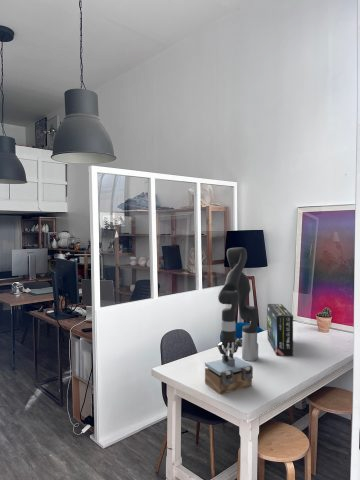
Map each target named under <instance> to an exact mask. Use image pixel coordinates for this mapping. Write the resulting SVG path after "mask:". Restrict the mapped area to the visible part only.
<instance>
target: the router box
mask: <svg viewBox="0 0 360 480" xmlns="http://www.w3.org/2000/svg"><path fill="white" fill-rule="evenodd" d="M266 313H267V340H268V343H269V345H270V346H271V348H272V349H273V352H274V353H275V355H276V356H280V357H281V356H282V357H289V356H290V357H291V356H292V357H293V356H294V315H293V314H292V313H291V312H290V311H289V310H288V309H287V308H286V307H285V306H284V305H283V304H281V303H267V308H266Z"/></svg>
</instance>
